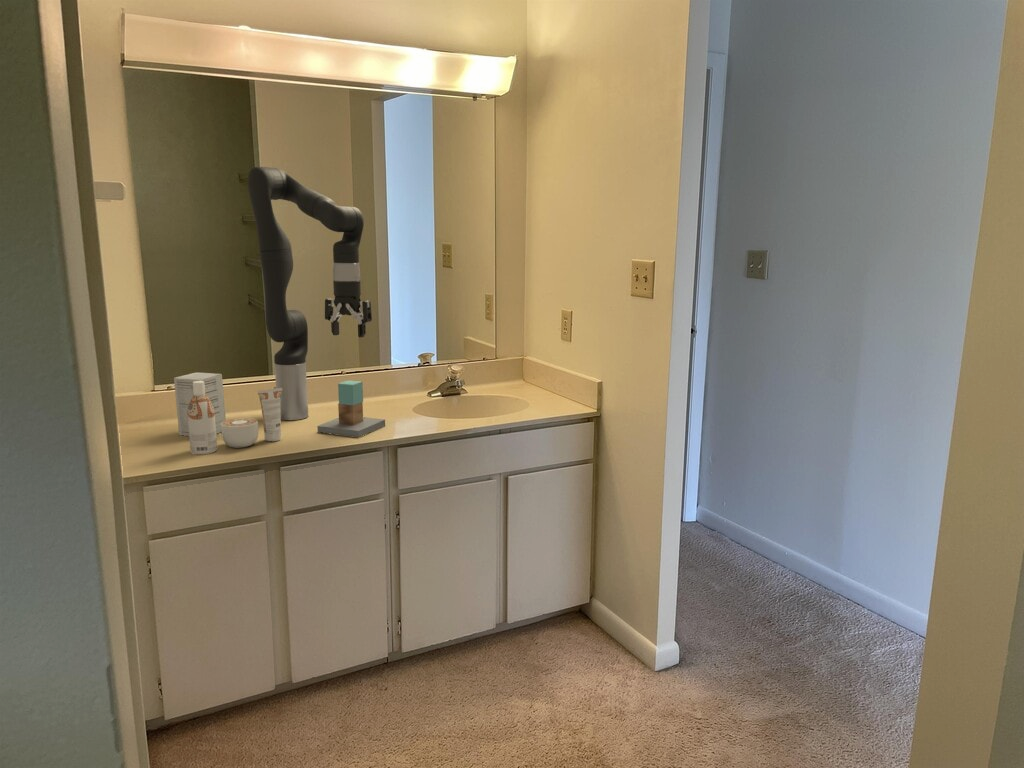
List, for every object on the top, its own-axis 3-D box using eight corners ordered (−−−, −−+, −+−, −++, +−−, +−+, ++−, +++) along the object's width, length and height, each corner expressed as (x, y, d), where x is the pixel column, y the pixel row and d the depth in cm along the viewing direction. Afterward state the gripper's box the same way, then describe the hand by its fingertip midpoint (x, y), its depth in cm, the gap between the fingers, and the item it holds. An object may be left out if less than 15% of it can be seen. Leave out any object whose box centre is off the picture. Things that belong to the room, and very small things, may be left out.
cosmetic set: (279, 434, 212) (275, 370, 208) (291, 442, 205) (287, 375, 201) (186, 449, 197) (180, 380, 193) (195, 458, 190) (189, 386, 186)
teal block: (338, 403, 215) (338, 383, 213) (348, 400, 219) (347, 380, 218) (353, 405, 213) (352, 384, 212) (363, 401, 217) (362, 381, 216)
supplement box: (227, 430, 216) (223, 373, 212) (205, 438, 207) (200, 379, 204) (201, 427, 219) (196, 371, 215) (177, 435, 210) (172, 377, 207)
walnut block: (339, 423, 216) (338, 403, 215) (348, 419, 220) (348, 400, 219) (353, 425, 214) (352, 405, 213) (363, 421, 219) (362, 401, 217)
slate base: (317, 432, 214) (317, 425, 213) (345, 421, 227) (345, 415, 226) (359, 437, 209) (358, 430, 208) (385, 425, 221) (385, 419, 221)
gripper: (317, 278, 208) (320, 336, 211) (360, 280, 203) (362, 339, 206) (333, 277, 215) (335, 333, 218) (375, 279, 209) (377, 336, 213)
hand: (348, 336), depth 212 cm, fingers open, 8 cm apart
